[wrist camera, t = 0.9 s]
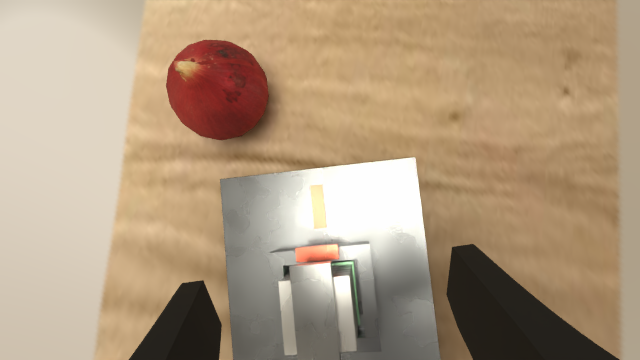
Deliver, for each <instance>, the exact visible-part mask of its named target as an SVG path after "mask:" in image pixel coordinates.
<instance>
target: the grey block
mask: <svg viewBox="0 0 640 360" xmlns="http://www.w3.org/2000/svg"><path fill="white" fill-rule="evenodd" d="M289 270H290V272H289V273H288V274H287V275H286V276H284V277H283V278H282V279H281V280H280V281H278V283H279V295H280V307H281V318H282V330H283V341H284V353H285V355H296V354H297V359H298V360H341V352H347V351H357V338H358V325H360V318H359V308H358V299H357V289H356V280H355V270H354V261H342V262H332V261H325V262H314V263H302V264H292V265H291V266H289Z"/></svg>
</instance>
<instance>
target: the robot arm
mask: <svg viewBox="0 0 640 360" xmlns="http://www.w3.org/2000/svg"><path fill="white" fill-rule="evenodd" d="M447 297H448V300H449V303H450V306H451V309H452V312H453V315H454V317H455V320H456V323H457V326H458V328H459V331H460V333H461V335H462V337H463V339H464V341H465V343H466V345H467V347H468V349H469V352H470V354H471V356H472V358H473V360H619V359H618V358H616V357H615V356H613V355H612V354H610V353H609V352H607V351H606V350H604V349H603V348H601V347H600V346H598V345H597V344H595V343H594V342H593V341H591V340H590V339H588V338H587V337H586V336H584V335H583V334H582V333H580V332H579V331H577V330H576V329H575V328H573V327H572V326H571V325H570V324H568V323H567V322H566V321H564V320H563V319H562V318H560V317H559V316H558V315H556V314H555V313H554V312H553V311H551V310H550V309H549V308H548V307H546V306H545V305H544V304H543V303H541V302H540V301H539V300H538V299H536V298H535V297H534V296H533V295H532V294H530V293H529V292H528V291H527V290H526V289H524V288H523V287H522V286H521V285H520V284H518V283H517V282H516V281H515V280H514V279H513V278H511V277H510V276H509V275H508V274H507V273H506V272H505V271H503V270H502V269H501V268H500V267H499V266H498V265H497V264H495V263H494V262H493V261H492V260H491V259H490V258H489V257H488V256H486V255H485V254H484V253H483V252H482V251H481V250H480V249H479V248H477V247H476V246H475V245H474V244H470V245H463V246H456V247H452V253H451V261H450V270H449V278H448V287H447ZM221 326H222V325H221V322H220V320H219V317H218V315H217V313H216V310H215V308H214V305H213V303H212V300H211V298H210V296H209V293H208V291H207V288H206V286H205V284H204V281H195V282H188V283H182V284H181V285H180V287H179V288H178V290H177V291H176V292H175V294H174V295H173V297H172V298H171V300H170V301H169V303H168V304H167V306H166V307H165V309H164V310H163V312H162V313H161V315H160V316H159V318H158V319H157V321H156V322H155V324H154V325H153V326H152V328H151V329H150V331H149V332H148V334H147V335H146V336H145V338H144V339H143V341H142V342H141V343H140V345H139V346H138V348H137V349H136V350H135V352H134V353H133V355H132V356H131V357H130V359H129V360H219V353H220V341H221Z"/></svg>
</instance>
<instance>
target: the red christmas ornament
mask: <svg viewBox="0 0 640 360" xmlns="http://www.w3.org/2000/svg"><path fill="white" fill-rule="evenodd" d="M166 88H167V92H168V97H169V102H170V105H171V107H172V109H173V110H174V112H175V113H176V115H177V116H178V118H179V119H180V121H181V122H182V123H183V124H184V125H185V126H187V127H188V128H190V129H191V130H193V131H194V132H196V133H197V134H199V135H200V136H203V137H207V138H212V139H217V140H225V139H230V138H234V137H239V136H242V135H243V134H245V133H246V132H248V131H249V130H250V129H252V128H253V127H255V125H256V124H257V122H258V121H259V120H260V118H261V117H262V116H263V114H264V112H265V108H266V104H267V101H268V97H269V95H268V86H267V78H266V75H265V73H264V71H263V69H262V68H261V67H260V65H259V64H258V62H257V61H256V59H255V58H254V56H253V55H252V54H251V53H249V52H248V51H247V50H245V49H243V48H241V47H239V46H237V45H235V44H233V43H231V42H228V41H219V40H203V41H200V42H197V43H194V44H190V45H188V46H187V47H186V48H185V49H183V50H182V51H181V52H180V53H179V54H178V55H177V56H176V58H175V59H174V61H173V62H172V64H171V65H170V67H169V69H168V76H167V83H166Z"/></svg>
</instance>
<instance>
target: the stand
mask: <svg viewBox="0 0 640 360" xmlns="http://www.w3.org/2000/svg"><path fill="white" fill-rule="evenodd" d="M220 184H221V198H222V212H223V225H224V239H225V253H226V266H227V280H228V294H229V307H230V321H231V335H232V348H233V360H298V359H297V354H296V355H285V353H284V341H283V330H282V318H281V307H280V295H279V283H278V281H280V280H281V279H282V278H283V277H284V276H286V275H287V274H288V273H289V272H290V270H289V266H291V265H292V264H302V263H314V262H325V261H332V262H342V261H354V270H355V280H356V289H357V299H358V308H359V318H360V325H358V338H357V351H347V352H341V360H440V352H439V344H438V336H437V328H436V320H435V312H434V304H433V296H432V288H431V280H430V272H429V264H428V256H427V248H426V240H425V232H424V224H423V216H422V208H421V200H420V192H419V184H418V176H417V168H416V160H415V157H413V158H404V159H396V160H387V161H378V162H369V163H360V164H351V165H343V166H334V167H325V168H316V169H307V170H299V171H290V172H281V173H272V174H263V175H254V176H246V177H237V178H228V179H220Z"/></svg>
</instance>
